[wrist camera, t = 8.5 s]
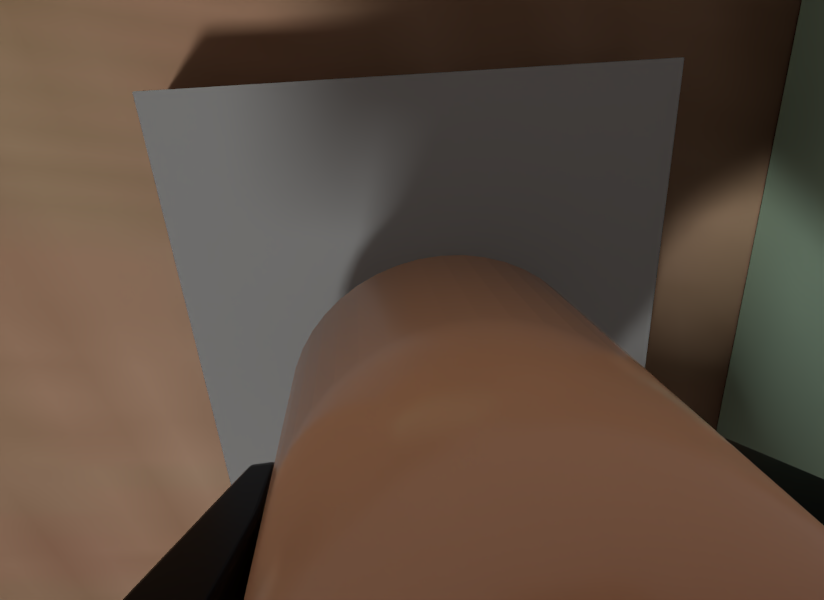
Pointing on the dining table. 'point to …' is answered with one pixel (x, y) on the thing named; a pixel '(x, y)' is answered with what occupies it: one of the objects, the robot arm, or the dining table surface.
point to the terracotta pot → (508, 461)
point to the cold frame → (786, 279)
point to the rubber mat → (402, 204)
